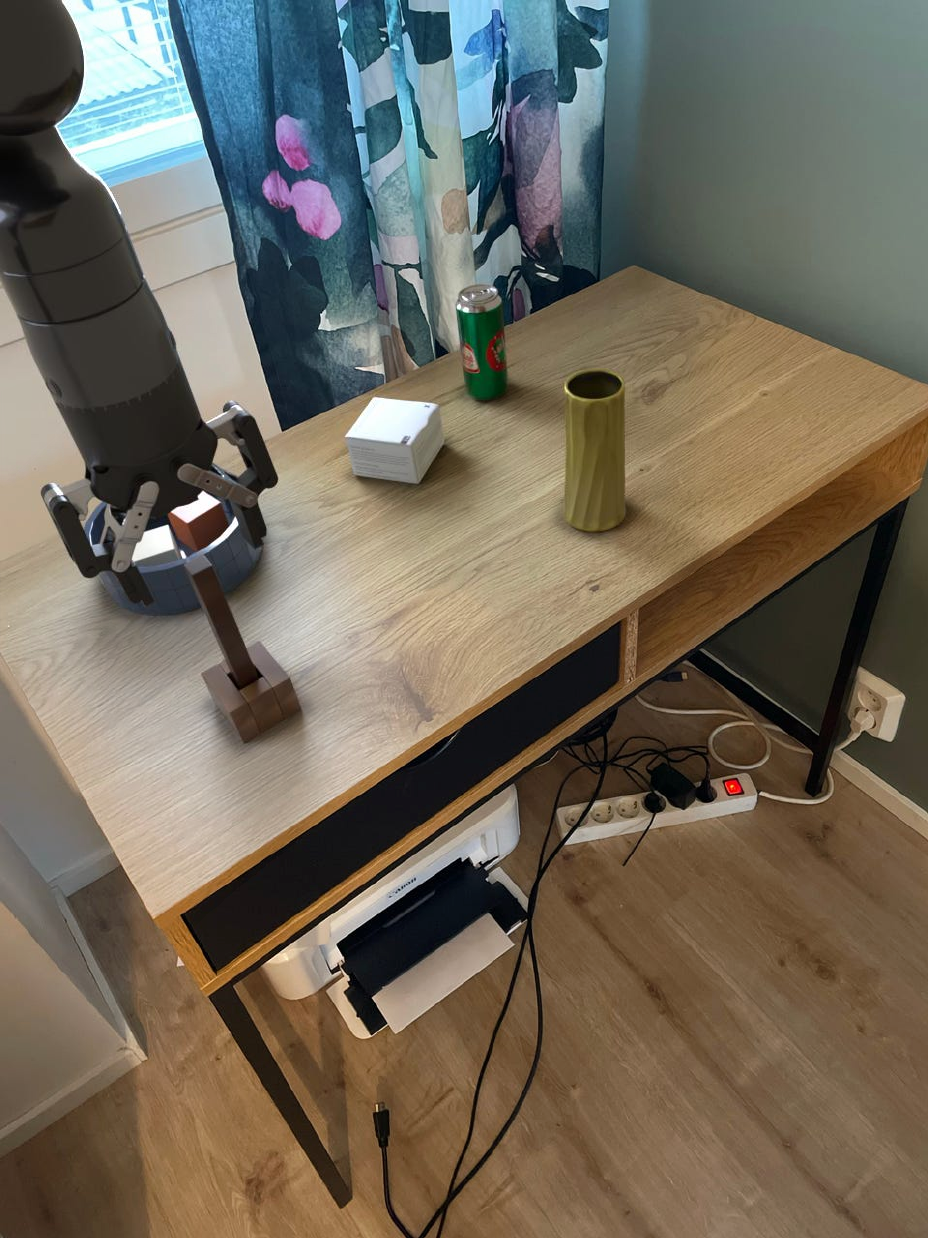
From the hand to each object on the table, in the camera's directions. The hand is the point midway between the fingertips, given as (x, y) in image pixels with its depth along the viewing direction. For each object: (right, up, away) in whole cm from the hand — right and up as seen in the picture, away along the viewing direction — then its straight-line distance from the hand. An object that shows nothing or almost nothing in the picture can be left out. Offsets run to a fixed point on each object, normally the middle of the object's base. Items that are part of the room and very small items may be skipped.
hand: (200, 570), depth 64 cm
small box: (+12, +14, +33) cm, 38 cm away
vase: (+31, +7, +24) cm, 40 cm away
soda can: (+21, +23, +41) cm, 52 cm away
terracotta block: (-7, +5, +27) cm, 28 cm away
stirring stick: (+2, -11, +11) cm, 15 cm away
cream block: (-10, +1, +23) cm, 25 cm away
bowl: (-9, +3, +25) cm, 27 cm away
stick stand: (+2, -11, +11) cm, 15 cm away
